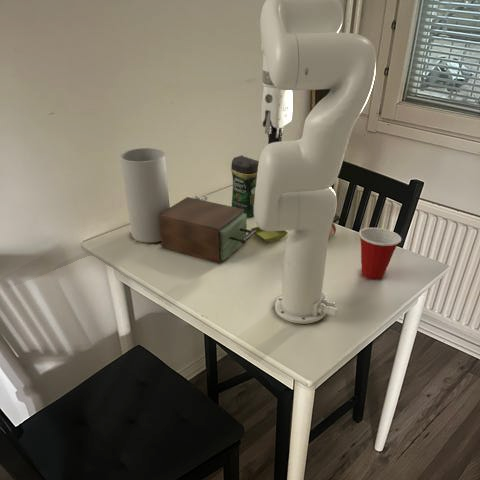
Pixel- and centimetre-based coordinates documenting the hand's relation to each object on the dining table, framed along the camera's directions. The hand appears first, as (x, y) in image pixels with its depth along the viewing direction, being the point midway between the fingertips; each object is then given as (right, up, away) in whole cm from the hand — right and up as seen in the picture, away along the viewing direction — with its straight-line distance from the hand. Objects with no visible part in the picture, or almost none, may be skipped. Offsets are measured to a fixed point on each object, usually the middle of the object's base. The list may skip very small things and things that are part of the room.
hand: (274, 151), depth 134 cm
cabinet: (-21, -24, +14) cm, 34 cm away
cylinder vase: (-37, -19, +20) cm, 46 cm away
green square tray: (-1, -20, +18) cm, 27 cm away
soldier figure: (-22, -9, +33) cm, 41 cm away
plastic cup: (+27, -34, 0) cm, 43 cm away
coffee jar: (-8, -9, +33) cm, 36 cm away
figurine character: (+14, -22, +16) cm, 31 cm away
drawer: (-17, -24, +12) cm, 31 cm away
